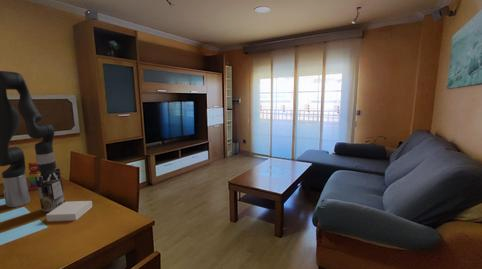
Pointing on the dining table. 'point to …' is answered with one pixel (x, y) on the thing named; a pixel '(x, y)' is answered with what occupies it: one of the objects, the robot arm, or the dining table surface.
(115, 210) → the dining table surface
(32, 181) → the stacking bear
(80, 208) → the plinth
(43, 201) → the coffee box
